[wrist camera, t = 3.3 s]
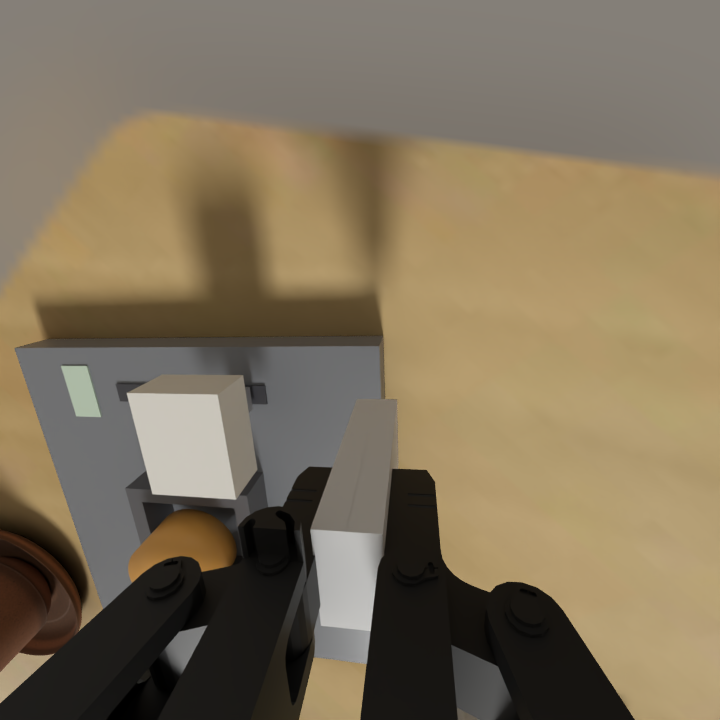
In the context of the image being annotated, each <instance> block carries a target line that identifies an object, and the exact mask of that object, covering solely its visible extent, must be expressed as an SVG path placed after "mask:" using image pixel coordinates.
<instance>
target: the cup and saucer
mask: <svg viewBox="0 0 720 720" xmlns="http://www.w3.org/2000/svg"><path fill="white" fill-rule="evenodd" d="M81 613H82V609H81V601H80V597H79V593H78V591H77V588H76V586H75V584H74V582H73V580H72V579H71V577H70V576H69V574H68V573H67V571H66V570H65V569H64V568H63V566H62V565H61V564H60V563H59V562H58V561H57V560H56V559H55V558H54V557H53V556H52V555H50V554H49V553H48V552H47V551H46V550H44V549H43V548H41V547H40V546H38V545H37V544H35V543H34V542H32V541H30V540H28V539H26V538H24V537H22V536H19V535H17V534H14V533H11V532H8V531H3V530H0V672H1V671H2V670H3V668H4V667H5V666H6V665H7V664H8V663H9V662H10V661H11V660H12V659H13V658H14V657H15V656H16V655H17V654H18V653H24V654H29V655H50V654H54V653H56V652H57V651H58V650H59V649H60V648H61V647H63V646H64V645H65V644H66V643H67V642H68V641H69V640H70V639H71V638H72V637H73V636H75V635H76V634H77V633H78V631H79V629H80V625H81V618H82V616H81Z"/></svg>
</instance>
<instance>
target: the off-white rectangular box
mask: <svg viewBox="0 0 720 720" xmlns="http://www.w3.org/2000/svg"><path fill="white" fill-rule="evenodd" d="M127 397H128V400H129V404H130V408H131V412H132V416H133V420H134V424H135V428H136V432H137V436H138V440H139V444H140V447H141V451H142V455H143V459H144V463H145V467H146V471H147V475H148V479H149V483H150V487H151V491H152V494H156V495H172V496H187V497H203V498H218V499H234V500H236V499H237V498H238V496H239V495H240V493H241V492H242V490H243V489H244V488H245V486H246V485H247V483H248V482H249V481H250V479H251V478H252V476H253V475H254V474H255V472H256V471H257V464H256V457H255V451H254V444H253V437H252V431H251V424H250V417H249V413H250V412H251V411H252V410H253V407H252V400H251V393H250V387H245V384H244V378H243V375H160V376H159V377H157V378H155V379H153V380H151V381H149V382H147V383H145V384H143V385H141V386H139V387H137V388H135V389H133V390H131V391H130V392H128V393H127Z"/></svg>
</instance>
